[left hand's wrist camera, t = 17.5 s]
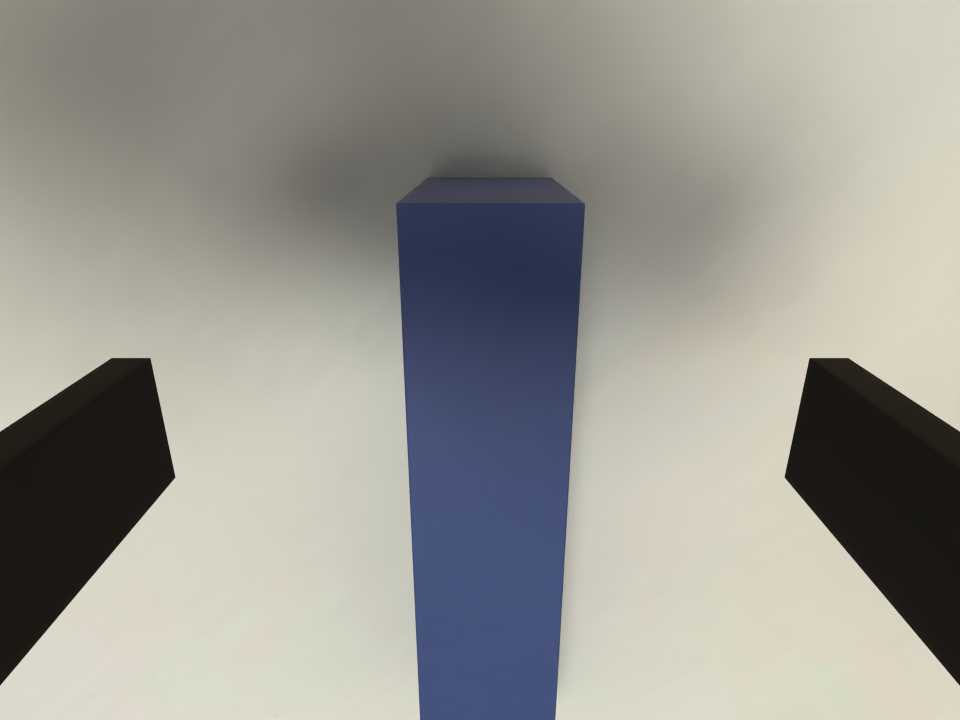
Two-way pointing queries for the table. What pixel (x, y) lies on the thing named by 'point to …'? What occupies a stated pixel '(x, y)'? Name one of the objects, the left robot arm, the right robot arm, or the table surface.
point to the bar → (489, 435)
